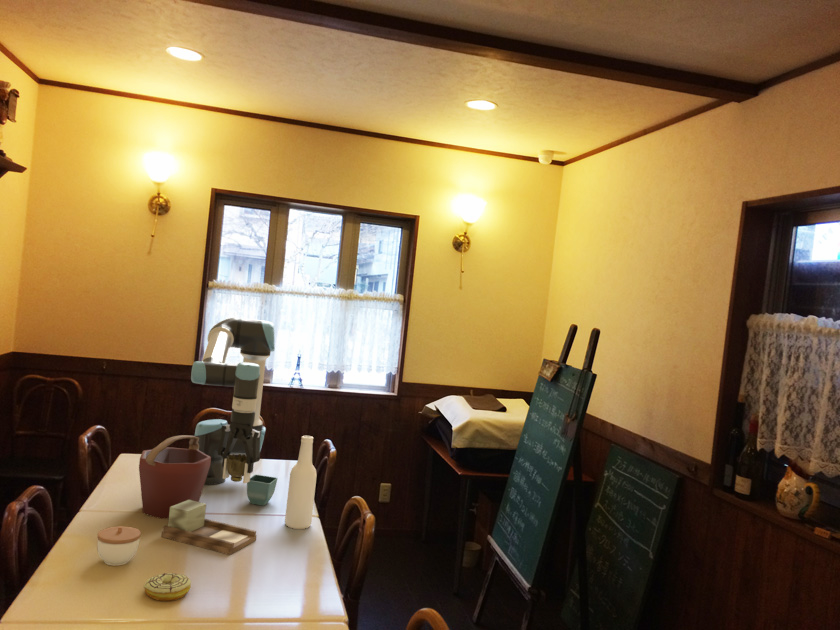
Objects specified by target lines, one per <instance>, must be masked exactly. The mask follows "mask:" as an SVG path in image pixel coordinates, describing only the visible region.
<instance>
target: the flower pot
mask: <svg viewBox="0 0 840 630" xmlns="http://www.w3.org/2000/svg"><path fill="white" fill-rule="evenodd" d="M277 482H278V477H274V476H268V475H262V474H254V475H252V476H250V482H247V483H246V494H247V499H248V501H249V503H250V504H252V505H256V506H257V505H258V506H262V505H263V506H266V505H267V504H268V503H269V502H270V500H271V499H272V498H273V495H274V493H275V490H276V486H277Z"/></svg>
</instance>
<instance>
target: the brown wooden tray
mask: <svg viewBox="0 0 840 630" xmlns="http://www.w3.org/2000/svg"><path fill="white" fill-rule="evenodd" d="M206 509H207V503H205V502H201V501H199V502H197V501H192V500H187V501H184V502H182V503H179V504H176V505H174V506H171V507H170V512H169V518H168V523H167V525H164V526H163V531H161V538H165V539H167V540H172V541H176V542H180V543H184V544H188V545H191V546H196V547H199V548H203V549H206V550H210V551H213V552H217V553H218V552H219V553H222V554H226V555H229V556H230V555H232V554H234V553H235V552H238V551H239V550H241V549H242V548H245V547H246V546H248V545H250V544H252V543H254V542H256V540H257V530H254V529H249V528H246V527H241V526H237V525H232V524H229V523H224V522H220V521H217V520H216V521H215V520H213V519H208V518H206Z"/></svg>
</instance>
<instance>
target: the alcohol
mask: <svg viewBox="0 0 840 630" xmlns="http://www.w3.org/2000/svg"><path fill="white" fill-rule="evenodd" d="M300 442H301V443H300V448H299V453H298V458H297V461H296V464H295V465H293V467H292V468H291V470H290V473H289V481H288V490H287V497H286V498H287V499H286V506H285V507H286V508H285V515H284V516H285V517H284V523H285V526H286V527H287V526H288V528H290V529H292V528H293V530H305V528H306V529H308V528H309V527H310V526H311V524H312V520H313V514H314V511H313V510H314V504H315V503H314V502H315V493H316V484H317V469H316V468H315V466H314V465H313V443H314V437H313V436H311V435H303V436H301V439H300Z"/></svg>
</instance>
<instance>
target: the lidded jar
mask: <svg viewBox="0 0 840 630" xmlns="http://www.w3.org/2000/svg"><path fill="white" fill-rule="evenodd" d="M141 535H142V532H141V531H140V529H138V528H135V527H132V526H123V525H120V526H119V525H118V526H117V525H116V526H110V527H106V528H103V529H102V530H100V531H98V532H97V543H96V546H97V547H96V548H97V553H98V556H99V558H100V559H101V560H102V561H103V563H104V564H105V565H107V566H114V567H115V566H123V565H126V564H128V563H129V562H130V560H131V559H132V558H133V557H134V556H136V553H137V552H138V548H139V545H140V539H141Z"/></svg>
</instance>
